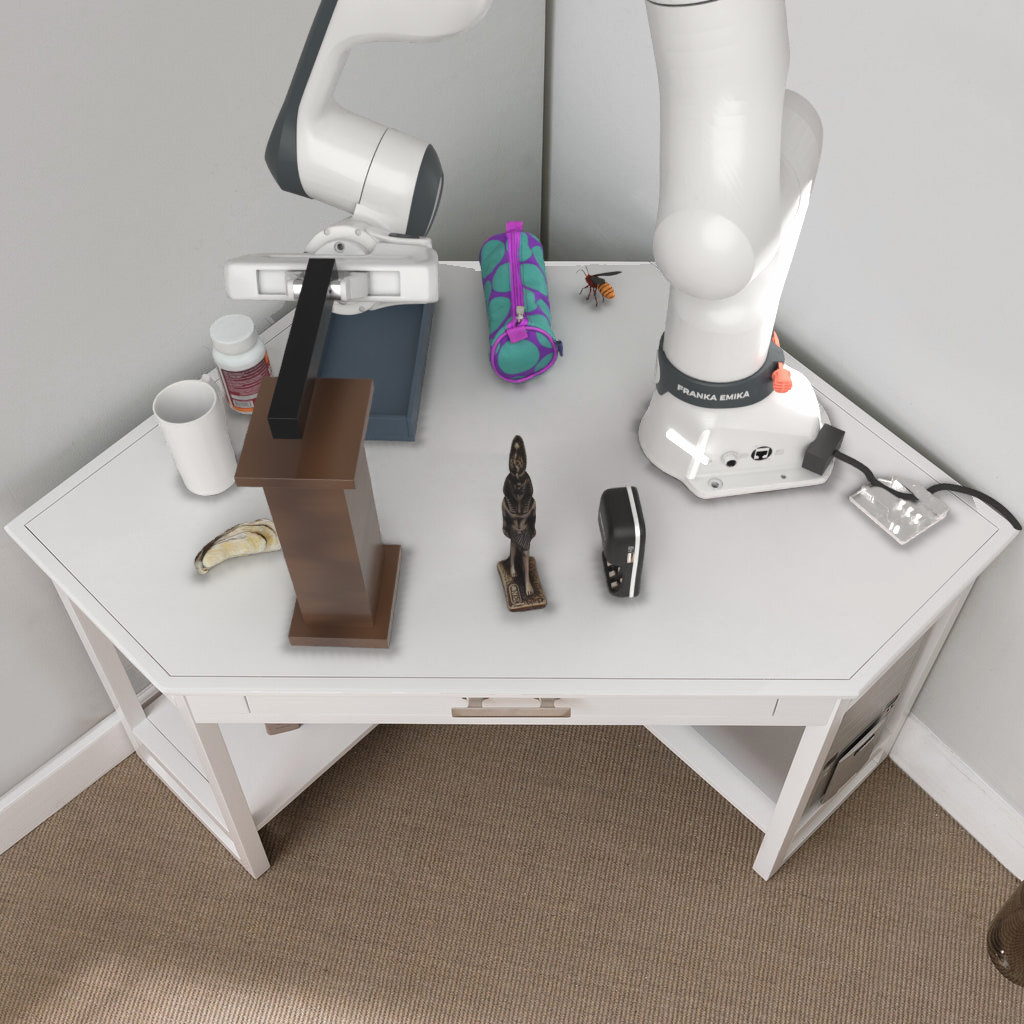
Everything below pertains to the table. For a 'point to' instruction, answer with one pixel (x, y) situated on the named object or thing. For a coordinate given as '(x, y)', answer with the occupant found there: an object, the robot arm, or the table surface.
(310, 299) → the rod
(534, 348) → the pencil case
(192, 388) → the mug
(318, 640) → the stand
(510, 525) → the statue
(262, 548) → the oyster shell
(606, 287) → the insect
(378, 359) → the tray
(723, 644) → the table surface
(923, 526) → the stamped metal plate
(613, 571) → the battery charger
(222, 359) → the pill bottle
